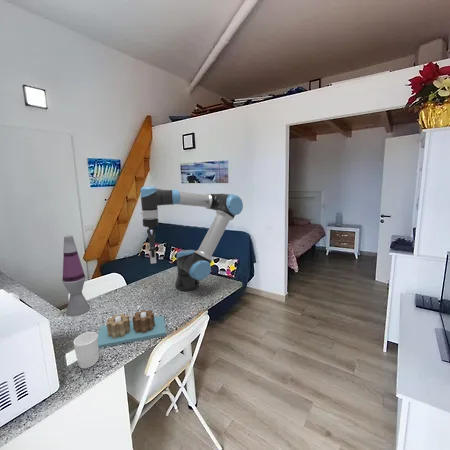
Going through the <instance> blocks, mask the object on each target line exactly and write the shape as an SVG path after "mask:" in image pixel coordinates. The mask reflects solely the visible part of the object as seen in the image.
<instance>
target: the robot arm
mask: <svg viewBox="0 0 450 450" xmlns="http://www.w3.org/2000/svg"><path fill="white" fill-rule="evenodd" d="M140 203H141V204H140V205H141V211H140V214H141V215H142V218H143V219H142V226H143V228H147V230H146V234H147V238H148V244H149V245H148V246H149V249H148V252H149V258H150V260H149V261H150V264H151V265H152V264H157V255H156V254H157V247H156V240H155V238H156V228H154V227H158V226H159V218H158V217H159V209H158V208H159V207H160V206H169V205H170V206H171V205H172V206H173V205H177V206H179V205H180V206H188V207H190V206H191V207H202V208H205V209H206V210H212V211H215V213H216V215H215V217H214V219H213V221H212V223H211V224H210V225H209V228H208V230H207V233H206V234H205V235H204V238H203V240H202V241H201V244H200V246H199V248H198V249H197V250H195V249H185V250H180V251H178V252H177V253H176V268H177V270H176V272H177V275H176V279H175V284H174V285H175V286H174V288H175V289H176V290H178V291H181V292H191V291H195V290H196V289H198V288H199V287H200V281H202V280H204V279H206V278H207V277H209V275H210V274H211V272H212V265H211V263H212V261H213V259H212V256H213V254H214V252H215V250H216V248H217V246H218V245H219V242H220V240H221V238H222V236H223V234H224V233H225V231H226V228H227V227H228V224H229V223H230V221H234V218H235V216H238V215H240V214H241V213H242V211H243V208H244V203H243V199H242V198H241V197H240V196H239V195H237V194H234V193H232V194H230V193H207V194H201V193H194V192H184V191H179V190H178V189H160V188H157V187H156V186H142V187H140Z"/></svg>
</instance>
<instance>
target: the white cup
mask: <svg viewBox="0 0 450 450" xmlns="http://www.w3.org/2000/svg"><path fill="white" fill-rule="evenodd" d="M98 334H99V333H98V332H95V331H87V332H84V333H81V334H80V335H78V336H77V337H75V338H74V340H73V347H74V352H75V355H76V356H75V357H76V360H77V364H78V367H79V368H80V369H84V370H85V369H89V367H90V368H91V366H92V367H93V365H94V364H95V363H96V362H97V361H98V362H99V360H98V359H100V355H99V351H100V349H99V345H98ZM98 362H97V363H98ZM97 363H96V364H97ZM96 364H95V365H96ZM95 365H94V366H95Z"/></svg>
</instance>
